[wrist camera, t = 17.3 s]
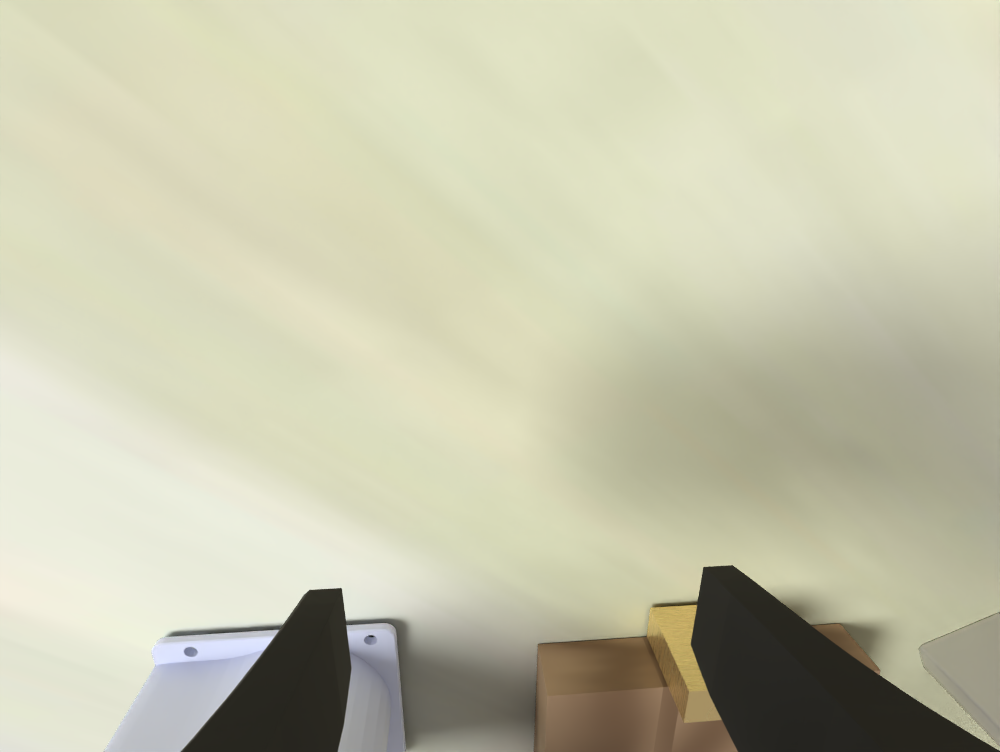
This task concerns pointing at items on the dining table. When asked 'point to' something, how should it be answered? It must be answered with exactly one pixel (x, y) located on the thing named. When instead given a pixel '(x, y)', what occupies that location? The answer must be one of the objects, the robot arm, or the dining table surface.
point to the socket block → (625, 699)
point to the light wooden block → (680, 661)
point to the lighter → (970, 670)
